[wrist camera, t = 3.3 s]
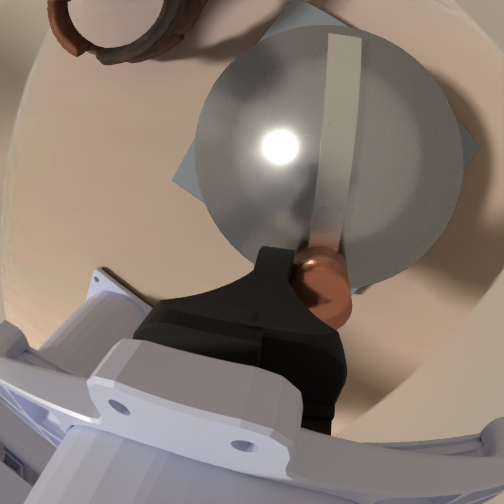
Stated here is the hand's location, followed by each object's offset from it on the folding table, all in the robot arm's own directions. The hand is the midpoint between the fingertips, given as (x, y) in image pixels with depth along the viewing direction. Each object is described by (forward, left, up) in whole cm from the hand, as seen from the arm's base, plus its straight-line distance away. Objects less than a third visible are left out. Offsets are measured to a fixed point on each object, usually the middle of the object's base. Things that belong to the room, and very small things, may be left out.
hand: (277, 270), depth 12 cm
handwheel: (+5, +1, -4) cm, 6 cm away
